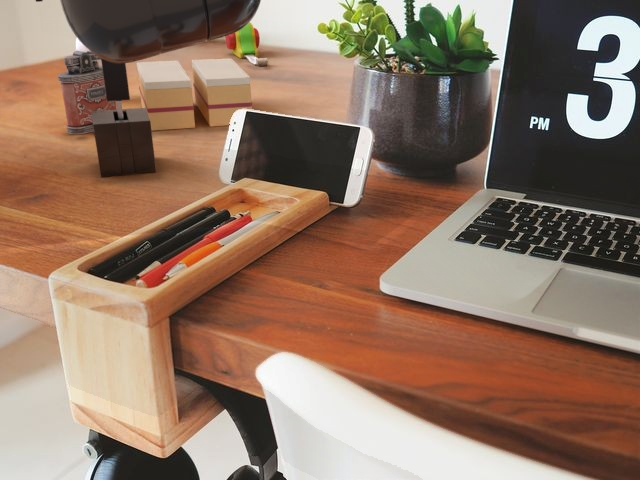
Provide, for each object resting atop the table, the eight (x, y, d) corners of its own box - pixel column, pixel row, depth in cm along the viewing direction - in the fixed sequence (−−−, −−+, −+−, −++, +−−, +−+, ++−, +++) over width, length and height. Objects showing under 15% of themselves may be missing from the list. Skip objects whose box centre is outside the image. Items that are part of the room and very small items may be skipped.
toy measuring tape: (250, 48, 154) (248, 16, 151) (278, 65, 139) (277, 30, 136) (220, 50, 152) (218, 17, 149) (246, 67, 136) (244, 31, 133)
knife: (117, 171, 82) (98, 35, 76) (115, 163, 85) (97, 30, 78) (138, 169, 83) (121, 34, 76) (136, 161, 86) (120, 30, 79)
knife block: (101, 177, 81) (93, 124, 78) (99, 161, 86) (91, 110, 83) (156, 172, 83) (150, 120, 80) (151, 156, 88) (145, 107, 85)
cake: (149, 131, 97) (144, 82, 94) (141, 106, 109) (136, 62, 106) (253, 123, 102) (250, 77, 99) (234, 100, 113) (231, 58, 110)
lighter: (79, 135, 94) (66, 57, 90) (61, 131, 96) (48, 54, 91) (125, 122, 101) (115, 48, 96) (108, 118, 102) (97, 45, 98)
